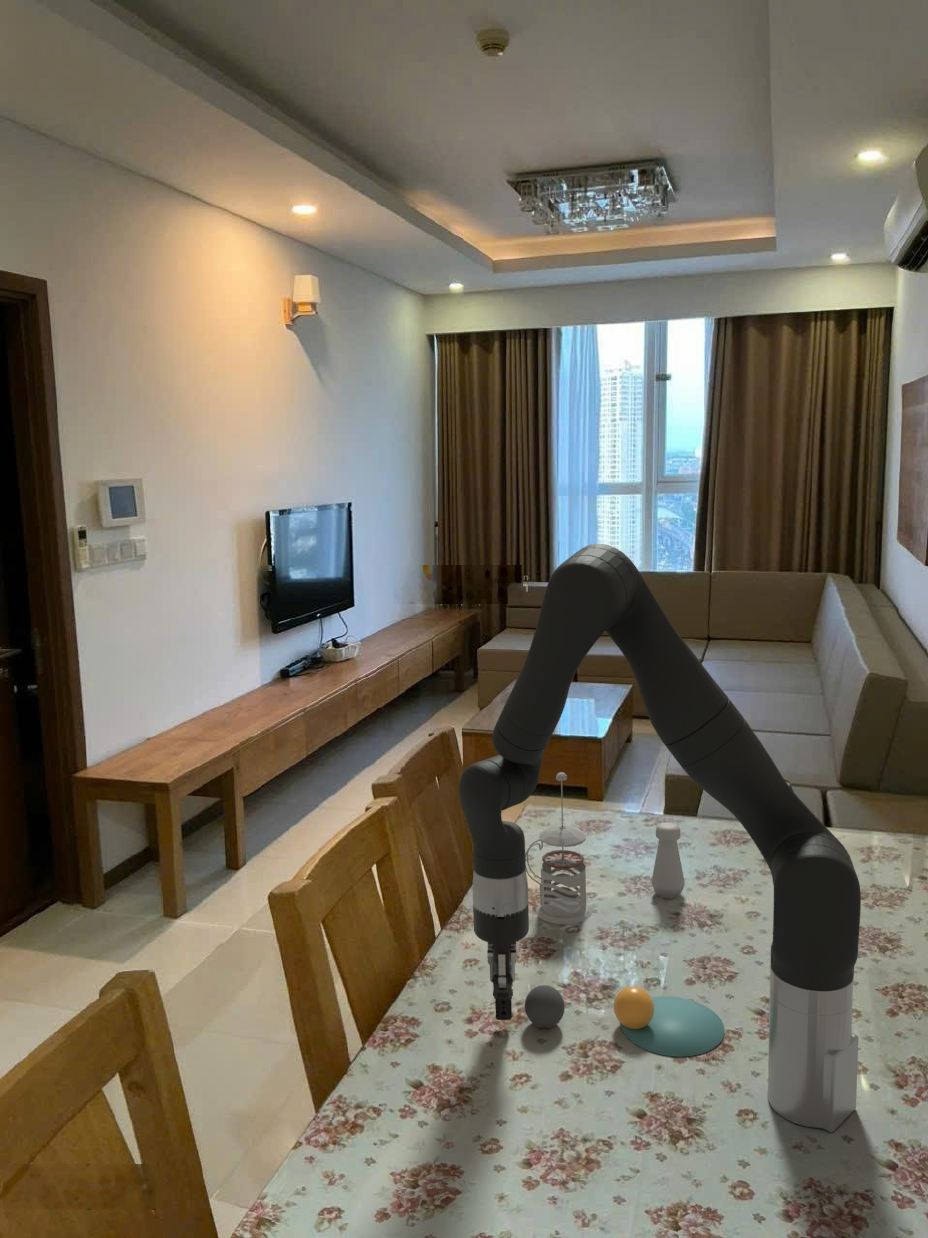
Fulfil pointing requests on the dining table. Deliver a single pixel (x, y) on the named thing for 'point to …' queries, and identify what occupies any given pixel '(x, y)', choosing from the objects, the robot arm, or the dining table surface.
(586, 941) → the dining table surface
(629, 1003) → the orange ball
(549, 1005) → the charcoal ball
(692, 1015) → the teal mark
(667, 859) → the salt shaker
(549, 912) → the french press
